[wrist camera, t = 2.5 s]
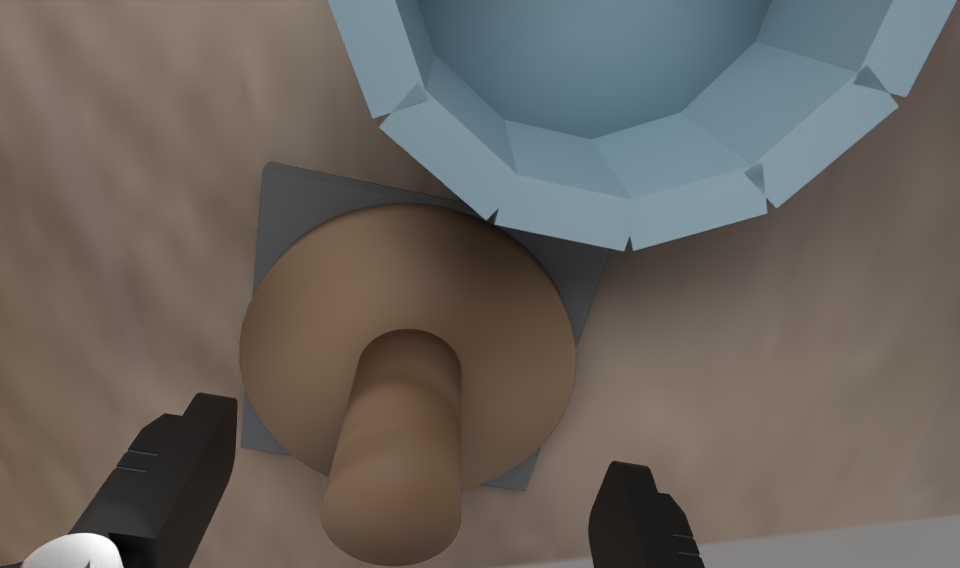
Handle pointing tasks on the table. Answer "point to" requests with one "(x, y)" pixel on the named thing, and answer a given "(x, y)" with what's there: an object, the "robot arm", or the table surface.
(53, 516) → the table surface
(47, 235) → the table surface
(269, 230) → the mat
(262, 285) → the lid
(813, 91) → the bowl
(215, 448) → the robot arm
